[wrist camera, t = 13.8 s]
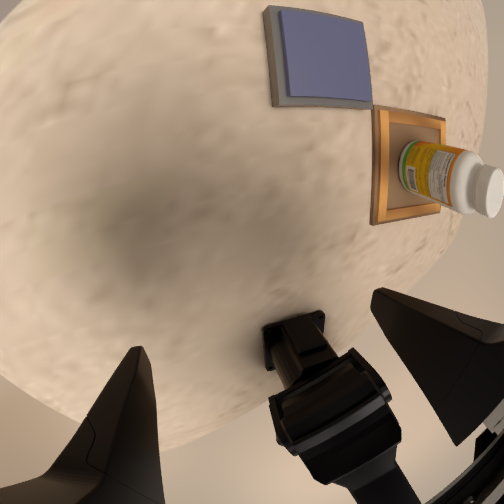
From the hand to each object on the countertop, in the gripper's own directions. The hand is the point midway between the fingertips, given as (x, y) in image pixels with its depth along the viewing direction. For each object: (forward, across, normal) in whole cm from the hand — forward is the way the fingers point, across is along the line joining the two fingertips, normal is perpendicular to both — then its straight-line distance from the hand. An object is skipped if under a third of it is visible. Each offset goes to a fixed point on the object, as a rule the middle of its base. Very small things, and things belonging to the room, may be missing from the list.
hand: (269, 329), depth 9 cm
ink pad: (+12, -9, -12) cm, 19 cm away
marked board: (+12, -19, -3) cm, 23 cm away
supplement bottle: (+12, -19, -3) cm, 23 cm away
